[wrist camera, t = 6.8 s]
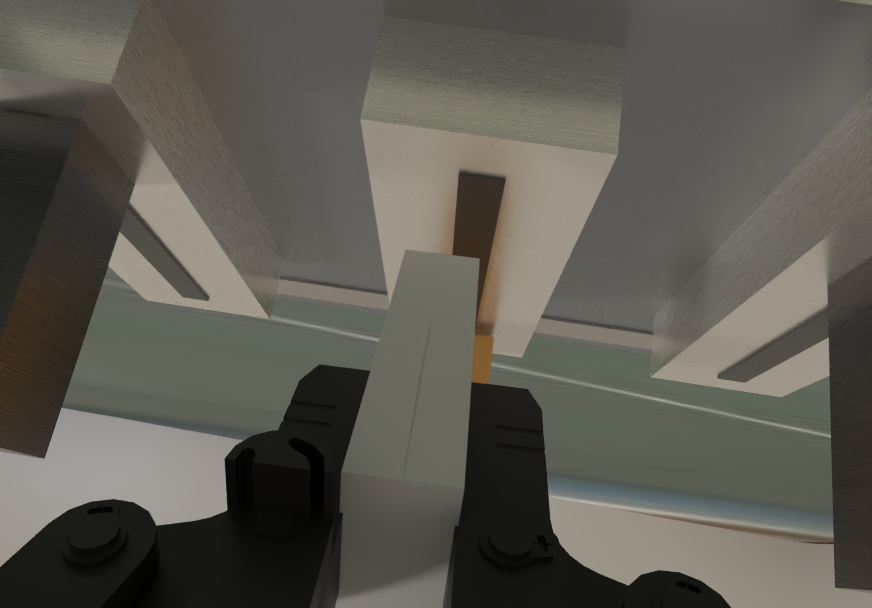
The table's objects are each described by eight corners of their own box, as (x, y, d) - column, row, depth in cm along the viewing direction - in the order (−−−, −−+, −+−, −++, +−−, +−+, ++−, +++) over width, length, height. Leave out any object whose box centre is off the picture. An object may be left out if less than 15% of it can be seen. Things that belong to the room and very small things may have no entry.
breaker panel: (208, 257, 35) (143, 490, 31) (-267, -383, 11) (-774, 286, 7) (731, 335, 34) (725, 585, 30) (1453, -186, 10) (1840, 705, 6)
